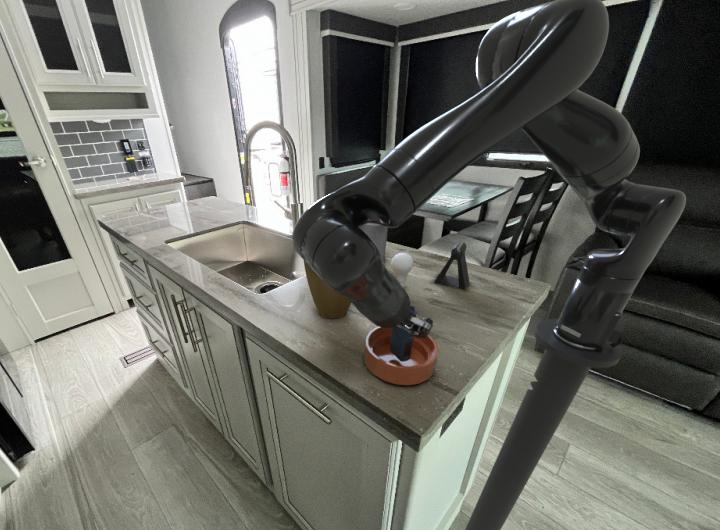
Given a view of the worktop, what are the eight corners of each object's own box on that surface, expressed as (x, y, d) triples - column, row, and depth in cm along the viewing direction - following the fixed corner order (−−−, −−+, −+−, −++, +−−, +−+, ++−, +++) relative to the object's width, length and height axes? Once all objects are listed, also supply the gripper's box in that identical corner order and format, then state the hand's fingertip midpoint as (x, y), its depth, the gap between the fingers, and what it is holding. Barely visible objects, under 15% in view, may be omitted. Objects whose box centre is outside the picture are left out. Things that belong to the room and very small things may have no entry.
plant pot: (299, 325, 79) (297, 265, 71) (309, 295, 91) (308, 242, 83) (360, 330, 77) (365, 269, 69) (362, 299, 90) (366, 245, 82)
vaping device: (401, 363, 63) (410, 312, 57) (387, 348, 67) (393, 298, 61) (412, 360, 64) (422, 309, 58) (397, 345, 68) (405, 296, 62)
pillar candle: (360, 252, 120) (362, 211, 112) (386, 255, 117) (391, 214, 110) (354, 262, 112) (356, 219, 104) (382, 265, 109) (387, 222, 102)
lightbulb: (410, 294, 92) (415, 258, 87) (388, 292, 93) (392, 256, 88) (408, 284, 97) (414, 250, 92) (388, 282, 98) (392, 248, 93)
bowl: (445, 361, 67) (450, 342, 65) (412, 400, 58) (416, 379, 56) (387, 334, 76) (389, 316, 73) (350, 364, 67) (351, 345, 64)
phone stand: (433, 282, 98) (441, 245, 92) (439, 275, 103) (446, 239, 97) (464, 290, 94) (474, 251, 88) (468, 282, 98) (478, 245, 92)
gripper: (433, 291, 47) (451, 325, 60) (354, 264, 55) (385, 299, 69) (410, 337, 46) (433, 360, 59) (333, 302, 54) (369, 330, 68)
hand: (407, 327), depth 64 cm, fingers closed on vaping device, 5 cm apart
